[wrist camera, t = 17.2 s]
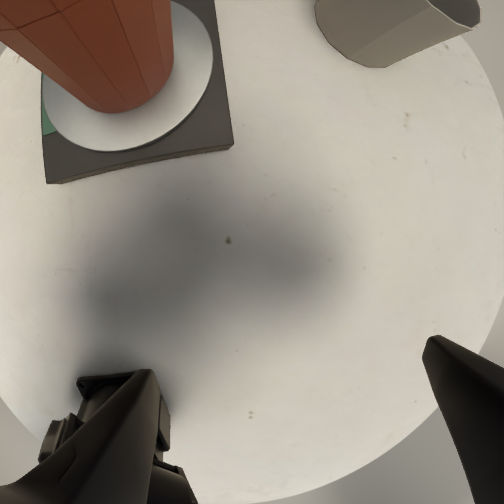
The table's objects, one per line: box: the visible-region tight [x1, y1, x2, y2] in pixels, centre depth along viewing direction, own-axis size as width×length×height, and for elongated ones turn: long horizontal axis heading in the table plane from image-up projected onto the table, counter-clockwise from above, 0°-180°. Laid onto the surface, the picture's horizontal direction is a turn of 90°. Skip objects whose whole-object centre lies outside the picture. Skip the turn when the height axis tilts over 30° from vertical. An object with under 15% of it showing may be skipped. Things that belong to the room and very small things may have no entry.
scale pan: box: [42, 1, 214, 153], centre depth 14 cm, size 10×10×1 cm
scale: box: [41, 0, 234, 184], centre depth 15 cm, size 12×12×3 cm
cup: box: [315, 0, 481, 68], centre depth 13 cm, size 8×8×10 cm
